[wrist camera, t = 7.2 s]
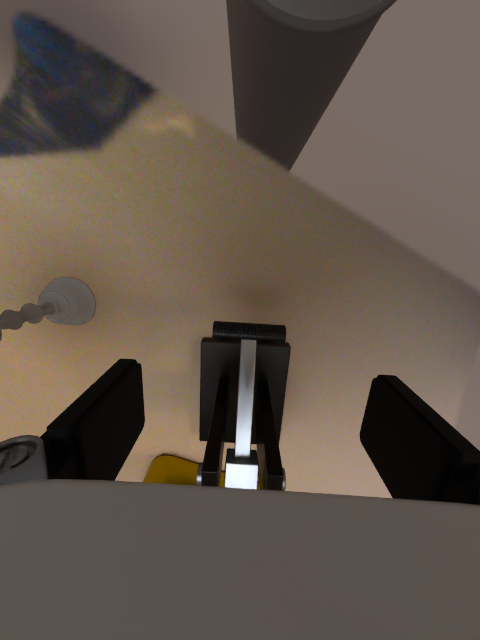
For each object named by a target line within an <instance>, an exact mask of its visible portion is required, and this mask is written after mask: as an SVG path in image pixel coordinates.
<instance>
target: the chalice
mask: <svg viewBox="0 0 480 640" xmlns="http://www.w3.org/2000/svg"><path fill="white" fill-rule="evenodd" d="M38 304H39V306H36V305H34V304H31V303H28V304H25V305H23V306H22V308H21V311H19V312H16V311H13V310H5V311H3V312H2V314H1V315H0V341H1V338H2V332H1V329H13V330H16V329H19V328H21V326H22V325H23V323H24V322H25V321H27V322H29V323H34V324H36V323H39V322H40V321H41V320H42V318H43V316H45V317H46V318H47V319H49V320H50V321H52V322H54V323H57V324H68V325H81V324H84V323H86V322H87V321H89V320H90V319H91V317H92V316H93V314H94V311H95V307H96V306H95V299H94V296H93V294H92V292H91V290H90V289H89V288H88V287H87V286H86V285H85V284H84V283H83V282H81V281H80V280H78V279H75V278H72V277H60V278H56V279H54V280H53V281H52V282H51V283H49V285H48V286H47V287H45V289H44V290H43V291H42V292H41V293H40V295H39V300H38Z"/></svg>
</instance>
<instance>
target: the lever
mask: <svg viewBox="0 0 480 640" xmlns="http://www.w3.org/2000/svg"><path fill="white" fill-rule="evenodd" d="M285 340H286V327H285V325H271V324H254V323H238V322H221V321H214V324H213V341H227V342H241V349H240V366H239V383H238V400H237V416H236V433H235V449H230V448H228V449H227V454H226V463H225V479H224V487H229V488H245V489H258V474H259V463H258V457H257V451H256V450H251V434H252V415H253V397H254V378H255V359H256V343H260V344H276V345H284V344H285Z"/></svg>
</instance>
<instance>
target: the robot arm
mask: <svg viewBox="0 0 480 640" xmlns="http://www.w3.org/2000/svg"><path fill="white" fill-rule="evenodd" d="M144 423H145V415H144V399H143V383H142V368H141V364H140V363H137V361H136V360H135V359H119V360H118V361H117V362H116V363H115V364H114V365H113V366H112V367H111V368H110V369H109V370H107V371H106V372H105V373H104V374H103V375H102V376H101V377H100V378H99V379H98V380H97V381H96V382H95V383H94V384H92V385H91V386H90V387H89V388H88V389H87V390H86V391H85V392H84V393H83V394H82V395H81V396H80V397H79V398H77V399H76V400H75V401H74V402H73V403H72V404H71V405H70V406H69V407H68V408H67V409H66V410H65V411H63V412H62V413H61V414H60V415H59V416H58V417H57V418H56V419H55V420H54V421H53V422H52V423H51V424H50V425H48V426H47V427H46V428H47V431H46V432H45V433H44V434H43V435H42V436H41V437H38V436H34V435H24V436H18V437H14V438H10V439H7V440H5V441H2V442H0V640H480V451H479V450H478V449H477V448H476V447H474V446H473V445H472V444H471V443H470V442H469V441H468V440H467V439H466V438H464V437H463V436H462V435H461V434H460V433H459V432H458V431H457V430H456V429H454V428H453V427H452V426H451V425H450V424H449V423H448V422H447V421H446V420H444V419H443V418H442V417H441V416H440V415H439V414H438V413H437V412H436V411H434V410H433V409H432V408H431V407H430V406H429V405H428V404H427V403H426V402H424V401H423V400H422V399H421V398H420V397H419V396H418V395H417V394H415V393H414V392H413V391H412V390H411V389H410V388H409V387H408V386H407V385H405V384H404V383H403V382H402V381H401V380H400V379H399V378H398V377H396V376H393V375H378V376H377V378H374V379H373V380H372V384H371V388H370V392H369V397H368V401H367V405H366V409H365V413H364V417H363V422H362V426H361V430H360V441H361V443H362V445H363V447H364V449H365V450H366V452H367V454H368V456H369V457H370V459H371V461H372V463H373V464H374V466H375V468H376V470H377V471H378V473H379V475H380V476H381V478H382V480H383V482H384V483H385V485H386V487H387V489H388V490H389V492H390V494H391V496H392V497H393V498H380V497H366V496H352V495H338V494H323V493H307V492H292V491H277V490H261V489H245V488H229V487H212V486H195V485H177V484H160V483H143V482H125V481H114V480H115V479H116V477H117V475H118V473H119V471H120V470H121V468H122V466H123V464H124V462H125V460H126V459H127V457H128V455H129V453H130V451H131V450H132V448H133V446H134V444H135V442H136V440H137V439H138V437H139V435H140V433H141V431H142V429H143V427H144Z"/></svg>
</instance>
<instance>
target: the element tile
mask: <svg viewBox="0 0 480 640" xmlns="http://www.w3.org/2000/svg"><path fill="white" fill-rule="evenodd" d="M197 469H198V464H196V463H193V462H190V461H186V460H183V459H180V458H177V457H174V456H169V455H162V456H159V457H157V458H156V459H155V460H154V461H153V462H152V463H151V465H150V467H149V469H148V471H147V474H146V476H145V478H144V481H143V483H160V484H177V485H195V486H196V476H197ZM224 479H225V473H224V472H221V478H220V487H224ZM258 489H259V484H258Z"/></svg>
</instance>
